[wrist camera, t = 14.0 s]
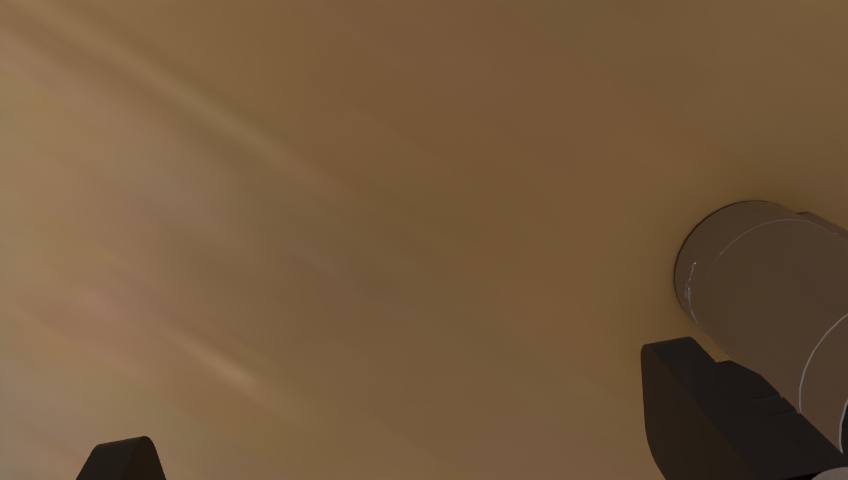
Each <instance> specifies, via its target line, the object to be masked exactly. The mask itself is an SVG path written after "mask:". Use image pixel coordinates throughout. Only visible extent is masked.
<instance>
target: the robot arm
mask: <svg viewBox="0 0 848 480" xmlns="http://www.w3.org/2000/svg"><path fill="white" fill-rule="evenodd" d="M675 287H676V293H677V297H678V299H679V301H680V304H681V306H682V308H683V309H684V310H685V312H686V313H687V314H688V316H689V317H690V318H691V319H692V320H693V321H694V322H695V323H696V324H697V325H698V326H699V327H700V328H701V329H702V330H703V331H704V332H705V333H706V334H707V335H708V336H709V337H710V338H711V339H712V340H713V341H714V342H715V343H716V344H717V345H718V346H719V347H720V348H721V349H722V350H723V351H724V352H725V353H726V354H727V355H728V356H729V357H730V358H731V359H732V360H733V361H734V362H733V361H731V360H728V361H723V362H718V363H716V362H715V361H714V360H713V359H712V358H711V357H710V356H709V354H708V353H707V352H706V351H705V350H704V349H703V348H702V347H701V346H700V345H699V344H698V343H697V342H696V341H695V340H694V339H693V338H691V337H683V338H677V339H672V340H666V341H661V342H656V343H650V344H645V345H643V347H642V350H641V370H642V386H643V402H644V417H645V429H646V435H647V440H648V444H649V447H650V450H651V453H652V456H653V458H654V460H655V463H656V464H657V466H658V468H659V469H660V471H661V473H662V474H663V476H664V477H665V479H666V480H848V231H847V230H845V229H843V228H841V227H839V226H837V225H835V224H833V223H831V222H829V221H827V220H825V219H823V218H821V217H819V216H817V215H815V214H813V213H803V214H795V213H793V212H792V211H790V210H788V209H786V208H784V207H782V206H780V205H777V204H773V203H769V202H765V201H748V202H742V203H736V204H734V205H731V206H728V207H726V208H723V209H721V210H719V211H718V212H716V213H714V214H713V215H711V216H709V217H708V218H707V219H706V220H704V221H703V222H702V223H701V224H700V225H699V226H698V227H697V228H696V229H695V230H694V231H693V233H692V234H691V235H690V236H689V238H688V239H687V240H686V242H685V244H684V246H683V248H682V250H681V252H680V254H679V257H678V261H677V264H676V268H675ZM76 480H166V478H165V475H164V472H163V469H162V466H161V463H160V460H159V457H158V454H157V451H156V449H155V446H154V444H153V442H152V441H151V439H150V438H149V437H147V436H142V437H136V438H131V439H125V440H120V441H115V442H109V443H104V444H99V445H97V446H96V447H95V448H94V449H93V450H92V452H91V454H90V456H89V457H88V459H87V461H86V463H85V464H84V466H83V468H82V470H81V471H80V473H79V475H78V477H77V478H76Z"/></svg>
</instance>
